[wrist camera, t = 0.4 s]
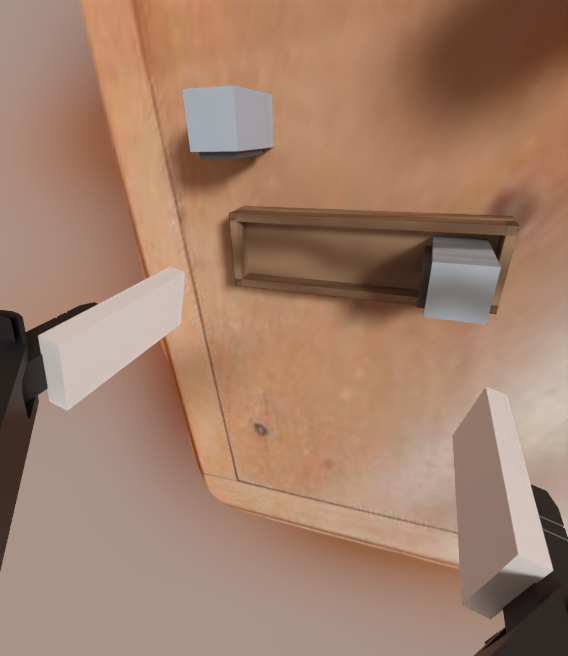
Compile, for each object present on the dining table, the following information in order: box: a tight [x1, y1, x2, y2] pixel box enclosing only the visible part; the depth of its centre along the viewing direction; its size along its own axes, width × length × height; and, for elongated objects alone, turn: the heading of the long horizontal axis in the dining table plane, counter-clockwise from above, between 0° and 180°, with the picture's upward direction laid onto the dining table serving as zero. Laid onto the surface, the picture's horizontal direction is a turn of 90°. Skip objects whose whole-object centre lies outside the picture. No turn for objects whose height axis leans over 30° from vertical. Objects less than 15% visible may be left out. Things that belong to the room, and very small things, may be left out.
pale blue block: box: [182, 85, 274, 159], centre depth 33 cm, size 4×5×8 cm
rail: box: [229, 206, 520, 324], centre depth 34 cm, size 8×26×10 cm, turn 91°
